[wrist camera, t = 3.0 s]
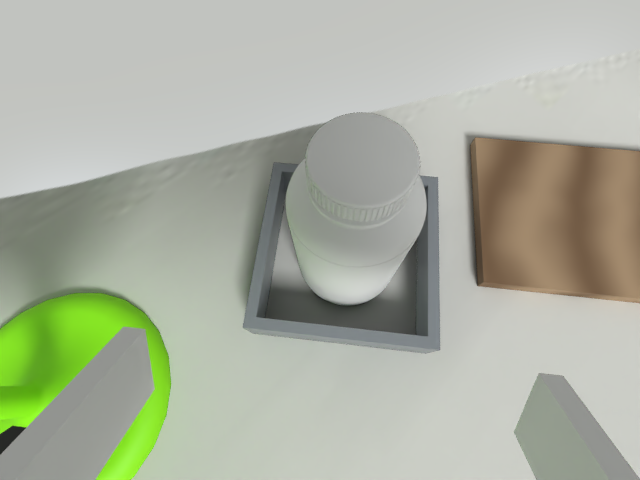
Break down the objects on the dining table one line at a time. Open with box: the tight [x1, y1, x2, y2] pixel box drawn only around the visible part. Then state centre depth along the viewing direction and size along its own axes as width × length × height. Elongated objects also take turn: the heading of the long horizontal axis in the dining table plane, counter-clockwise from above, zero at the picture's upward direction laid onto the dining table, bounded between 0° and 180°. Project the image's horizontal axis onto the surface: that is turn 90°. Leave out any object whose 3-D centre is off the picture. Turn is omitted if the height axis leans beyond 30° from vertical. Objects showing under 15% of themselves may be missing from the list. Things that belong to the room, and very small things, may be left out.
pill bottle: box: [285, 113, 427, 305], centre depth 23 cm, size 8×8×15 cm
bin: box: [243, 162, 440, 353], centre depth 28 cm, size 14×14×4 cm
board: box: [470, 137, 640, 303], centre depth 30 cm, size 18×14×1 cm
